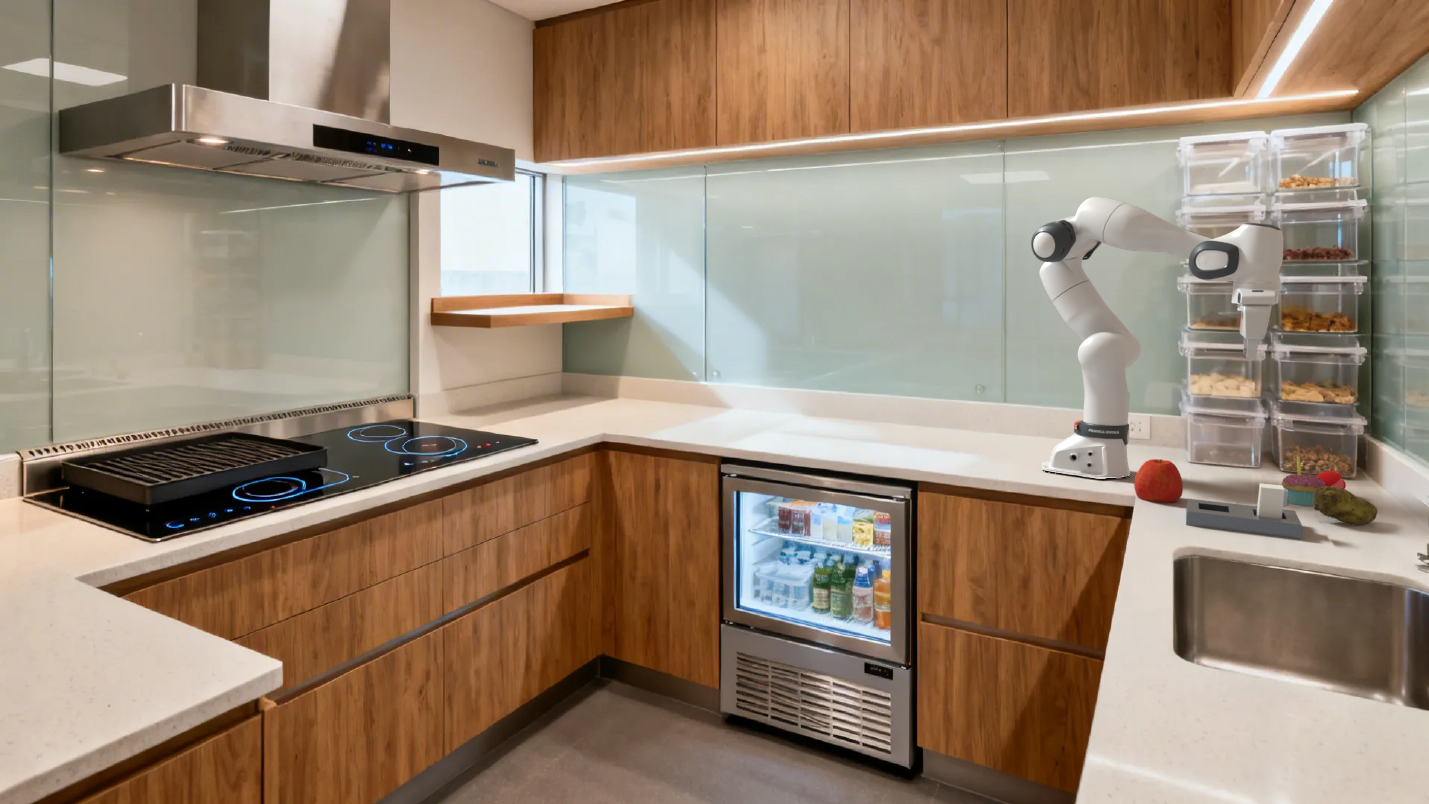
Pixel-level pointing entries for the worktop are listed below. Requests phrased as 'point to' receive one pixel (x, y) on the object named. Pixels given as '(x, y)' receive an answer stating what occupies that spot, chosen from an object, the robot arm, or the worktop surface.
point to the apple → (1158, 481)
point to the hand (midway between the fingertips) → (1249, 357)
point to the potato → (1343, 506)
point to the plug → (1271, 500)
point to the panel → (1241, 519)
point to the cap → (1332, 479)
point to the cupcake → (1302, 486)
